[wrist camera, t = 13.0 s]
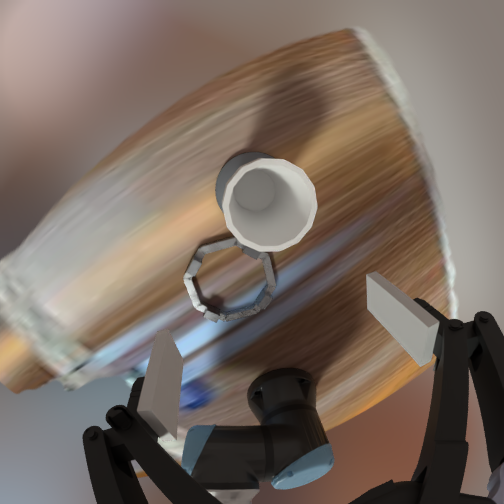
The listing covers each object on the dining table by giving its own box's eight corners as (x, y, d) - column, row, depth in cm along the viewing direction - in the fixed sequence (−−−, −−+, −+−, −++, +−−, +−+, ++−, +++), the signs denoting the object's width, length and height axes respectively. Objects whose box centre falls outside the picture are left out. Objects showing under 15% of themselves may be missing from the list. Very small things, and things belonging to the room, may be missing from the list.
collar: (279, 303, 46) (282, 310, 44) (202, 324, 46) (202, 331, 44) (262, 228, 41) (264, 232, 39) (175, 252, 41) (173, 257, 39)
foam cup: (298, 196, 39) (333, 215, 27) (248, 234, 40) (262, 269, 28) (259, 144, 36) (280, 138, 24) (207, 184, 37) (202, 198, 25)
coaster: (296, 215, 41) (297, 216, 40) (226, 234, 41) (226, 235, 40) (281, 145, 37) (282, 144, 36) (206, 163, 37) (206, 163, 36)
